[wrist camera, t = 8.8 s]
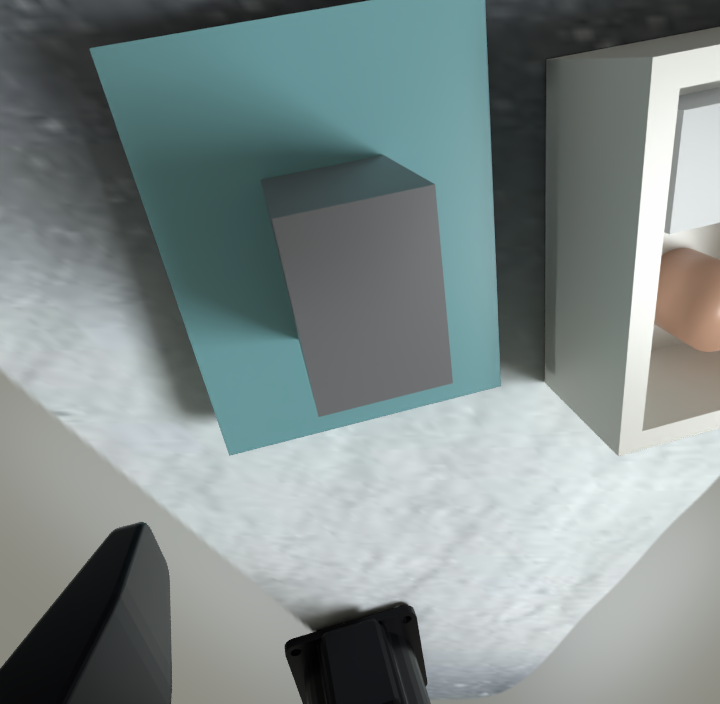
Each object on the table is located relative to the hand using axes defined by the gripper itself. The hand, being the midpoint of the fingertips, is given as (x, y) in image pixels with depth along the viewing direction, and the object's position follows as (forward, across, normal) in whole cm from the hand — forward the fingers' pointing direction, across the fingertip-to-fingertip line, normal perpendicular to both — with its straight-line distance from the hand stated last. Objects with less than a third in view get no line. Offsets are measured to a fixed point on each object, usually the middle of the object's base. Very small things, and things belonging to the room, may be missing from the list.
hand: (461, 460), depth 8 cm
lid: (+12, 0, 0) cm, 12 cm away
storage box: (+12, -12, +2) cm, 17 cm away
